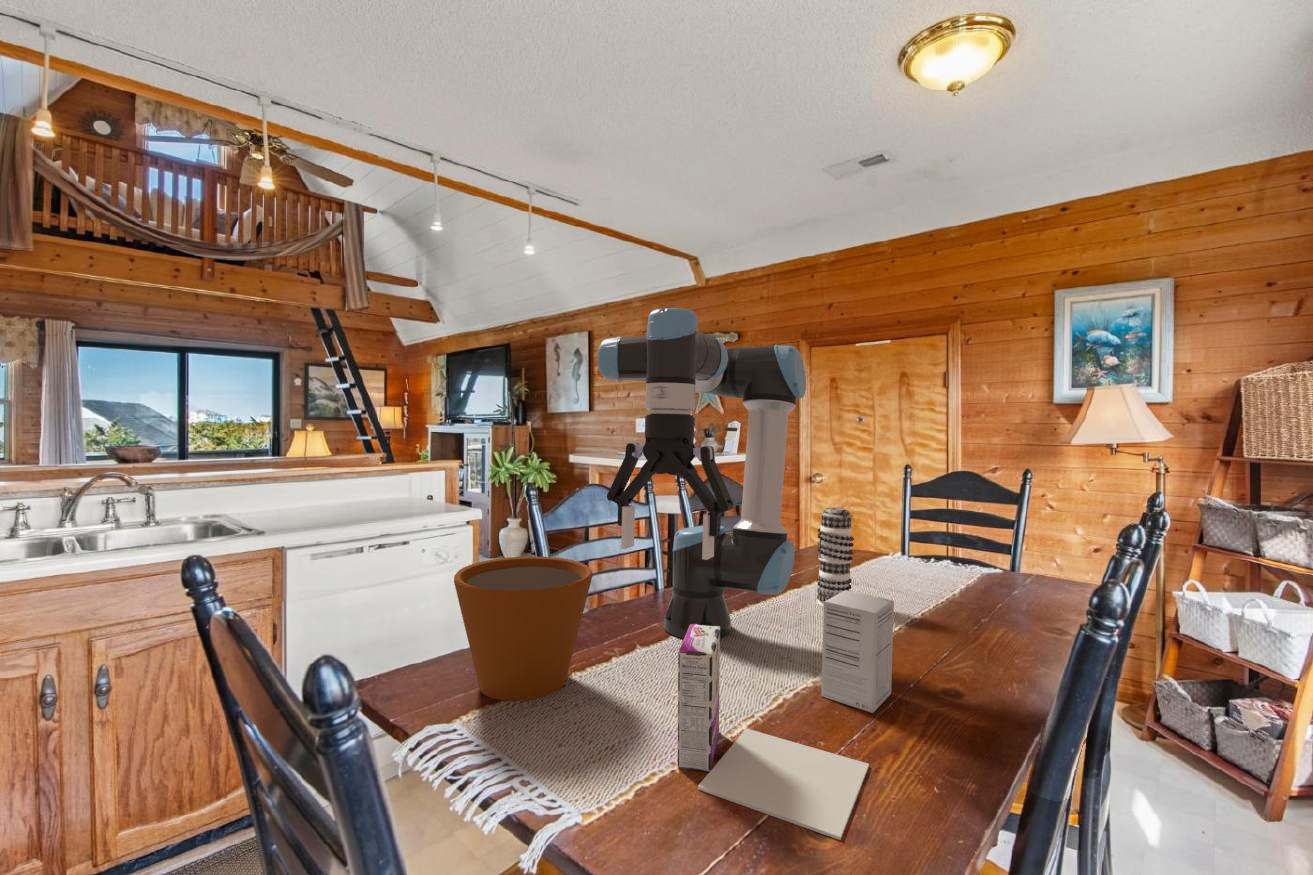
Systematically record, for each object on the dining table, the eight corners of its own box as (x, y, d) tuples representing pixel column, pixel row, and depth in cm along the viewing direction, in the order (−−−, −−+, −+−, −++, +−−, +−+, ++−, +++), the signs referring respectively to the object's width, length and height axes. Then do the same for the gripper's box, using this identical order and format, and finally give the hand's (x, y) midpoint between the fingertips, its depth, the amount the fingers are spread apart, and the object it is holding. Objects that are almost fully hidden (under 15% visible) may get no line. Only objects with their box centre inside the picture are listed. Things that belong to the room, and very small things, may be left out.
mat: (697, 789, 77) (697, 786, 77) (746, 730, 92) (746, 728, 92) (840, 840, 68) (840, 837, 68) (868, 766, 83) (868, 763, 83)
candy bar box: (687, 728, 92) (689, 622, 92) (719, 732, 91) (722, 625, 91) (674, 769, 82) (677, 649, 81) (711, 774, 81) (714, 653, 80)
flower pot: (573, 650, 122) (575, 553, 122) (606, 702, 100) (608, 583, 100) (450, 665, 114) (451, 560, 113) (456, 726, 92) (457, 596, 91)
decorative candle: (808, 600, 160) (811, 506, 159) (838, 597, 163) (841, 505, 162) (828, 611, 151) (831, 512, 150) (859, 608, 154) (862, 511, 153)
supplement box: (841, 679, 111) (844, 588, 111) (892, 694, 105) (895, 599, 105) (819, 696, 104) (822, 600, 103) (873, 714, 98) (876, 612, 97)
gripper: (587, 411, 93) (584, 547, 94) (740, 413, 82) (736, 568, 82) (612, 412, 100) (609, 539, 100) (757, 414, 89) (753, 557, 89)
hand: (666, 552), depth 91 cm, fingers open, 13 cm apart
